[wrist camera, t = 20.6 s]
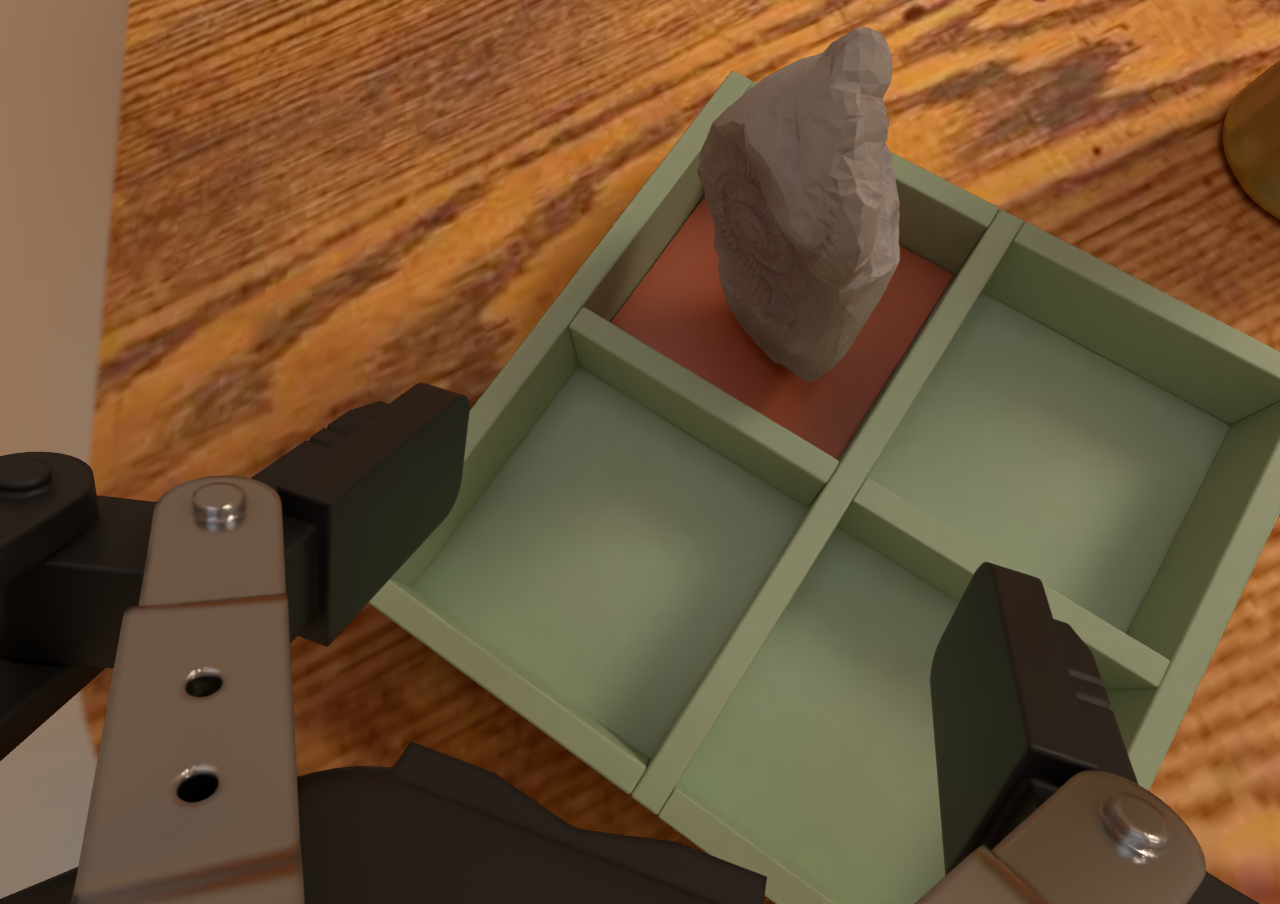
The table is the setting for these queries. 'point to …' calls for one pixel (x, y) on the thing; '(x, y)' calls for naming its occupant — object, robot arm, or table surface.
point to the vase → (1256, 139)
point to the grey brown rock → (806, 202)
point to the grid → (838, 521)
